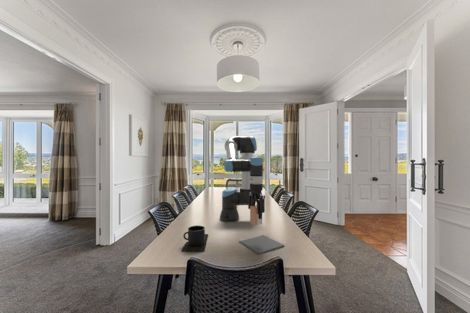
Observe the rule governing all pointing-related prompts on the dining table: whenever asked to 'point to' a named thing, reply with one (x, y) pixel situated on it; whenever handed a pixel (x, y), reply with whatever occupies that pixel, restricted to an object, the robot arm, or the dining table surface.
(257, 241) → the mat
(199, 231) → the mug
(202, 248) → the black flat plate
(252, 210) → the block
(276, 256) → the dining table surface
